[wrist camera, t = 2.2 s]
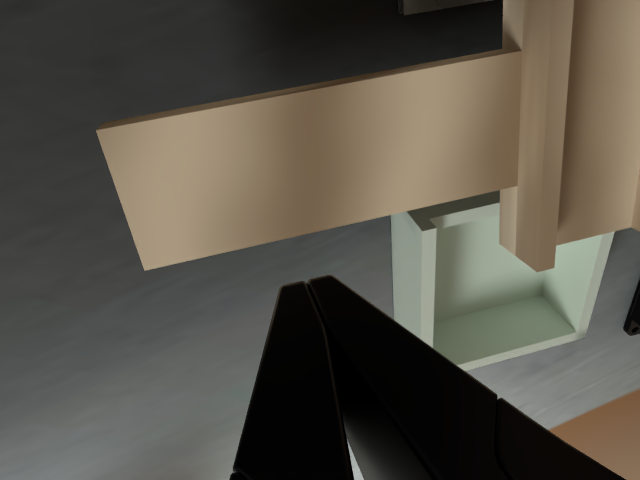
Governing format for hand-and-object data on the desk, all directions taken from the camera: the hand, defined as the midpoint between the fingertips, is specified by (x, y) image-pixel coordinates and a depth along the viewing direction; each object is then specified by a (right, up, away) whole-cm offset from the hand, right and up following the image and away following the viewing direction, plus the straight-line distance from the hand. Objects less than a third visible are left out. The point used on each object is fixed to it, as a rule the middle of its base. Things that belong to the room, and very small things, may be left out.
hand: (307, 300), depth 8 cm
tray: (+8, +1, +17) cm, 19 cm away
